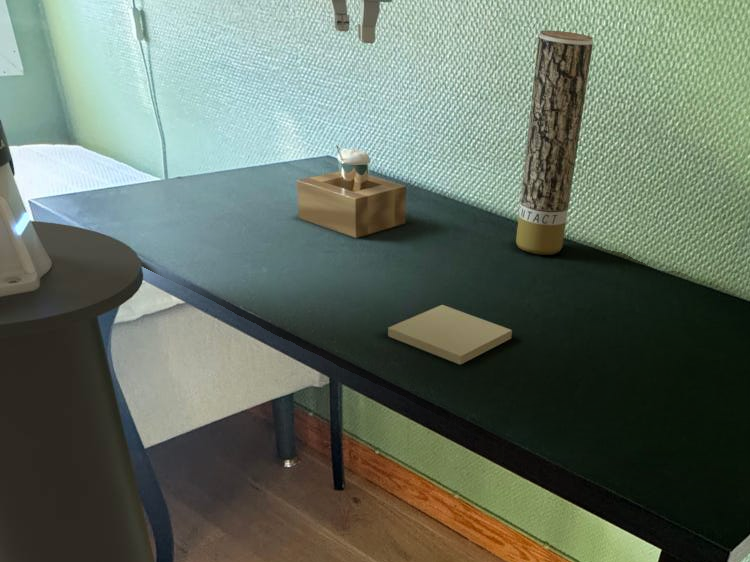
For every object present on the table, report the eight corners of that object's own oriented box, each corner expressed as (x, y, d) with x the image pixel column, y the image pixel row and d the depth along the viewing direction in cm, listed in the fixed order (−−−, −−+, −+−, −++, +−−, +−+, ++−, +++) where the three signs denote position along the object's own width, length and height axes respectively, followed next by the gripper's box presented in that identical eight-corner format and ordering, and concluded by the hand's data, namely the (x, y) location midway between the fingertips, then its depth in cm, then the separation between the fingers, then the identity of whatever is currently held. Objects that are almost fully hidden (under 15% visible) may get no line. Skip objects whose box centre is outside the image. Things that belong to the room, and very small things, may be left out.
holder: (356, 238, 112) (355, 199, 109) (298, 218, 116) (296, 180, 113) (405, 223, 119) (406, 186, 116) (349, 205, 123) (349, 168, 120)
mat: (460, 365, 85) (460, 355, 84) (387, 336, 89) (387, 327, 88) (511, 338, 92) (512, 330, 91) (441, 312, 95) (442, 304, 94)
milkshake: (328, 219, 117) (325, 141, 110) (355, 213, 120) (354, 137, 113) (350, 228, 115) (348, 148, 108) (376, 221, 118) (376, 144, 111)
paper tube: (526, 237, 119) (551, 29, 102) (568, 248, 117) (601, 37, 100) (507, 249, 115) (530, 32, 98) (551, 260, 113) (582, 41, 96)
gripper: (300, -113, 102) (306, 23, 112) (356, -104, 89) (358, 48, 99) (347, -107, 105) (349, 25, 114) (408, -97, 92) (405, 50, 101)
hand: (353, 36), depth 106 cm, fingers open, 8 cm apart
